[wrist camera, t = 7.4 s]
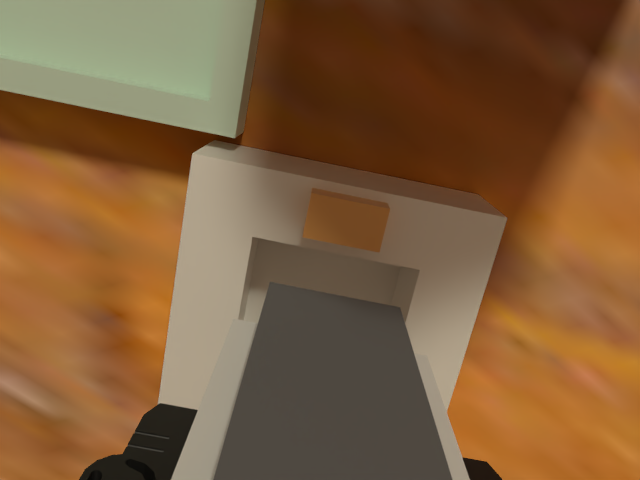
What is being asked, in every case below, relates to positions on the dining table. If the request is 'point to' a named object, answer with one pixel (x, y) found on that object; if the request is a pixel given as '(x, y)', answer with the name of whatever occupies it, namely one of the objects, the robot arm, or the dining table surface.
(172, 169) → the dining table surface
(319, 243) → the beige flat rimmed piece
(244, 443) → the plug
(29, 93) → the tray
